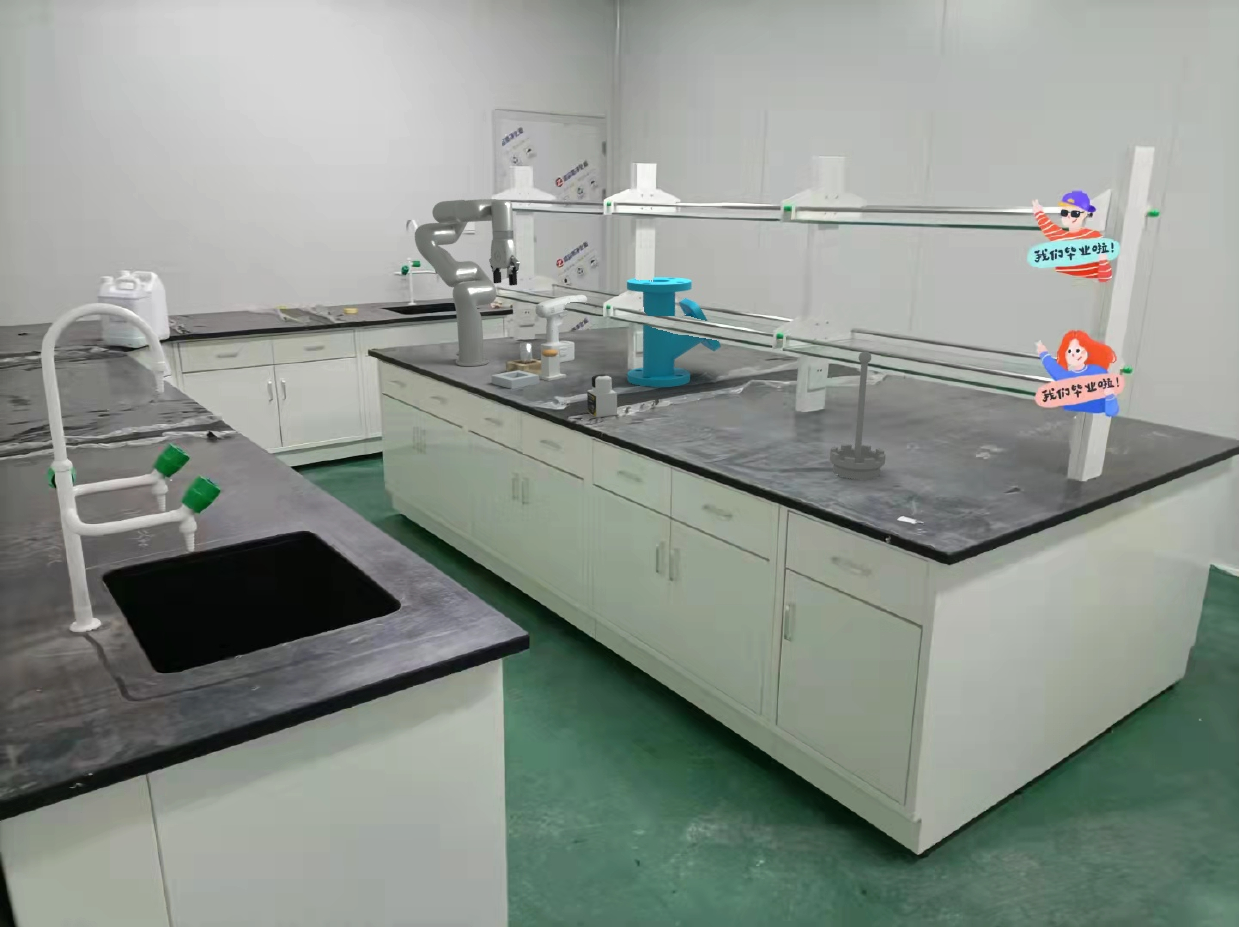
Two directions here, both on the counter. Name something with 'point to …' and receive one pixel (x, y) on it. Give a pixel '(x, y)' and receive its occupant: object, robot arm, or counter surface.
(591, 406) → the medicine bottle
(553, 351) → the release plunger
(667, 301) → the pipe fitting
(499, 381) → the socket block
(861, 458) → the flag stand
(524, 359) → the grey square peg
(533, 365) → the rack
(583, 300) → the power drill
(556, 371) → the post
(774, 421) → the counter surface
